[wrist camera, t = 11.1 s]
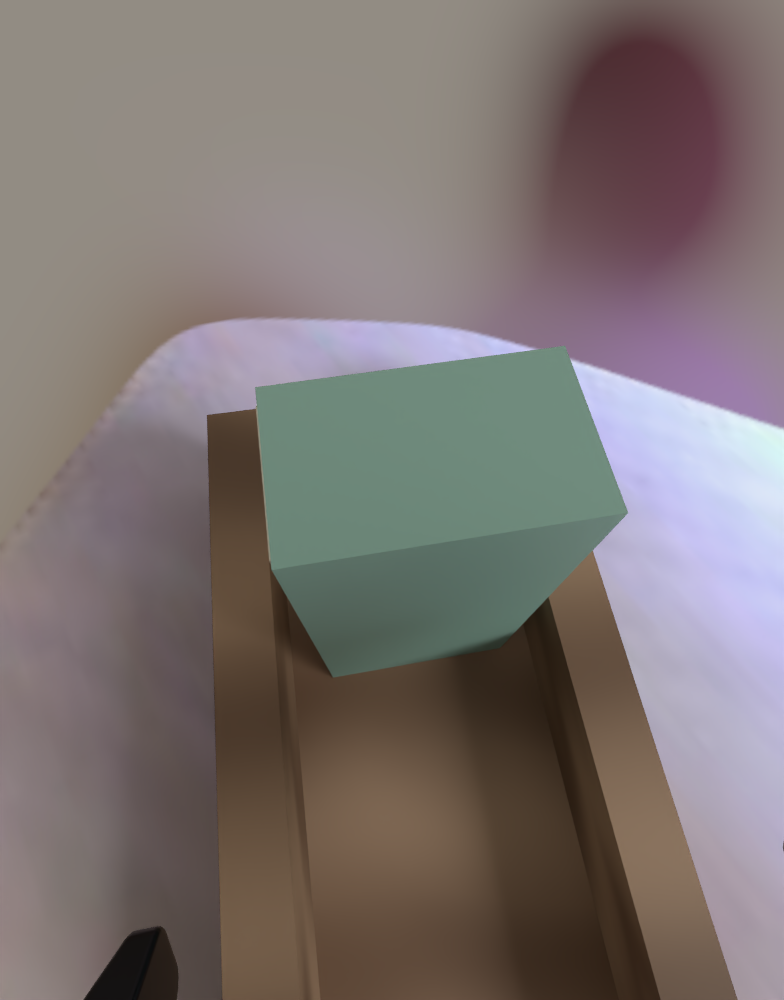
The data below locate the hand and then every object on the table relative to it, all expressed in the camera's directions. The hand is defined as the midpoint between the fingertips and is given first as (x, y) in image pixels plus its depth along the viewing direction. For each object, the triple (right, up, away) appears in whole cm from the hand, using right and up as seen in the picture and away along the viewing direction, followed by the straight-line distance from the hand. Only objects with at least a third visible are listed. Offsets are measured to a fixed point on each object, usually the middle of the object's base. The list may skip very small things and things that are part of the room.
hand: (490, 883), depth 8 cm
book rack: (-1, -1, +9) cm, 9 cm away
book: (-1, +2, +9) cm, 10 cm away
